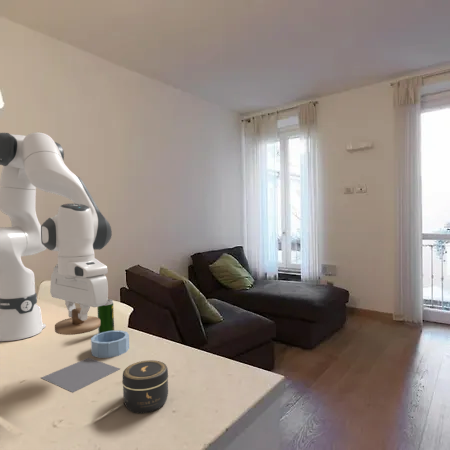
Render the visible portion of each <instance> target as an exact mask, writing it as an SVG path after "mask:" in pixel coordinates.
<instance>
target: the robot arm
mask: <svg viewBox="0 0 450 450" xmlns="http://www.w3.org/2000/svg"><path fill="white" fill-rule="evenodd" d="M64 151H65V150H64V149H63V147H62V145H61V144H60V143H59V142H56V141H55V140H54V139H53V138H52V137H51V136H50V135H49V134H47V133H43V132H39V131H38V132H31V133H28V134H27V135H23V134H13V133H9V132H0V166H2V169H1V173H0V211H1V212H2V213H3V214H4V215H6V216H8V218H9V220H10V222H11V223H10V224H11V226H5V227H3V226H2V227H1V226H0V342H10V341H17V340H23V339H27V338H31V337H34V336H37V335H38V334H40V333H41V332H42V331H43V329H45V328H46V327H47V326H46V325H47V324H46V323H43V317H42V310H41V307H40V306H39V305H38V304H37V303H38V296H37V292H36V284H35V283H36V279H35V273H34V271H33V270H32V269H31V268H28V267H26V266H25V265H24V262H23V261H22V257H27V256H33V255H37V254H40V253H41V252H44V251H46V250H47V249H48V250H49V251H53V252H57V263H56V265H55V266H54V267H53V272H51V275H50V286H49V287H50V290H49V291H50V292H49V294H50V295H51V297H52V299H53V298H54V299H59V300H62V301H64V302H65V307H66V309H67V311H68V317H69V318H72V310H73V309H76V307H77V306H76V304H78V305H79V308H81V311H80V313H78V319H79V320H82V321H84V320H87V318H88V314H89V310H90V309H91V308H97V307H99V306H102V305H105V304H106V302H107V300H108V299H109V298H108V297H109V286H108V285H109V284H108V279H107V276H106V275H107V274H108V270H109V269H108V266H107V265H106V264H104V263H103V262H101V261H100V260H98V259H97V258H95V257H96V255H95V250H103V249H104V248H105V247H106V246H107V245H108V244H109V242H111V241H110V240H111V239H112V235H113V234H112V227H111V225H110V223H109V221H108V219H107V218H106V217H105V216H104V215H103V214H102V212H101V210H100V209H99V206H98V205H97V203H96V202H95V200H94V198H93V196H92V195H91V193H90V191H89V189H88V187H87V186H86V184H85V182H84V181H83V180H82V178H80V177H79V176H78V175H76V174H75V173H74V172H73V171H71V170H70V169H69V167H68V166H67V165H66V164H65V162H64V161H65V158H64V157H65V153H64ZM37 189H38V190H41V191H44V192H45V193H50V194H55V195H58V196H60V197H64V198H66V199H68V200H70V201H71V202H73V203H65V204H61V205H60V206H59V207H58V210H57V213H56V214H55V215H54V216H52V217H49V218H47V219H46V220H45V221H44V222H43V223H42V224H41V223H40V221H39V219H38V216H37V215H38V214H37V212H36V211H37V209H36V208H37V207H36V203H37V201H36V197H37V195H36V194H37Z"/></svg>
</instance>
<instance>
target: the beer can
mask: <svg viewBox="0 0 450 450" xmlns="http://www.w3.org/2000/svg"><path fill="white" fill-rule="evenodd" d="M96 308H97V309H96V310H97V318H99V319H100V322H101V325H100V327H99V328H97V332H98V333H97V334H99V333H102V332H107V331H115V316H114V315H115V314H114V313H115V311H114V301H113V298H112V299H111V298H108V300H107V302H106V304H105V305H102V306H99V307H96Z"/></svg>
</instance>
